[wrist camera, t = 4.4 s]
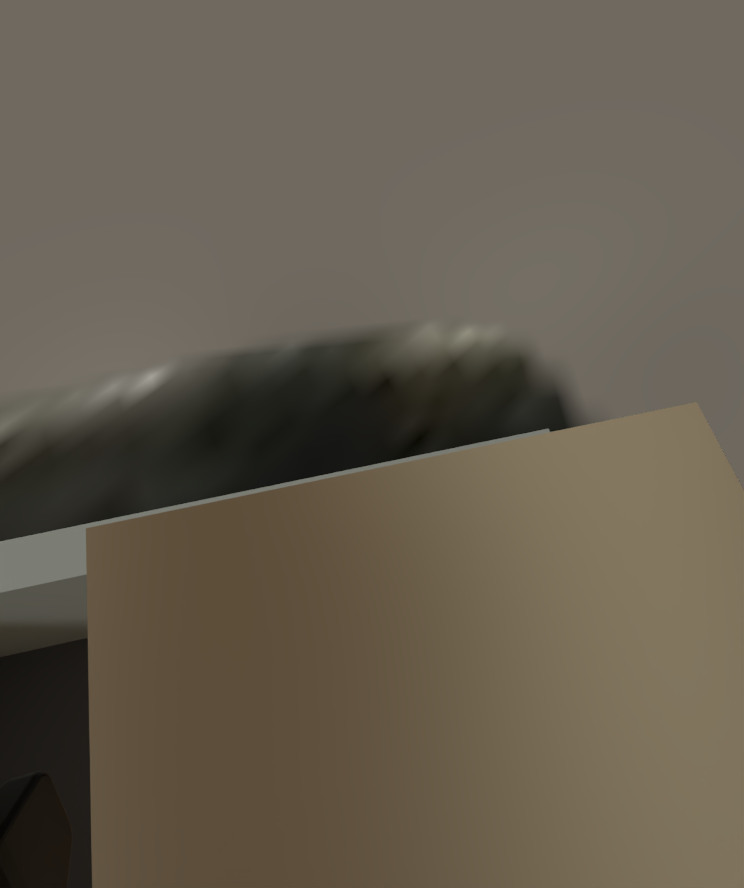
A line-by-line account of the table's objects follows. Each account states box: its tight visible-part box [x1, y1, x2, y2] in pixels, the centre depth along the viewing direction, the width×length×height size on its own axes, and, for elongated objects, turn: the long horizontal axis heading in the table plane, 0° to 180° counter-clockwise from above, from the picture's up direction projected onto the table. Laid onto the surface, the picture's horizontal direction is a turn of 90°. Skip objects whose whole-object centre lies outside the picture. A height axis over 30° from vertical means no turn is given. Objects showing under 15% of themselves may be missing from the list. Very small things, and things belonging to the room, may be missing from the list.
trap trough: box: [0, 429, 550, 888], centre depth 12 cm, size 14×12×4 cm
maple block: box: [86, 402, 744, 888], centre depth 9 cm, size 5×5×11 cm
